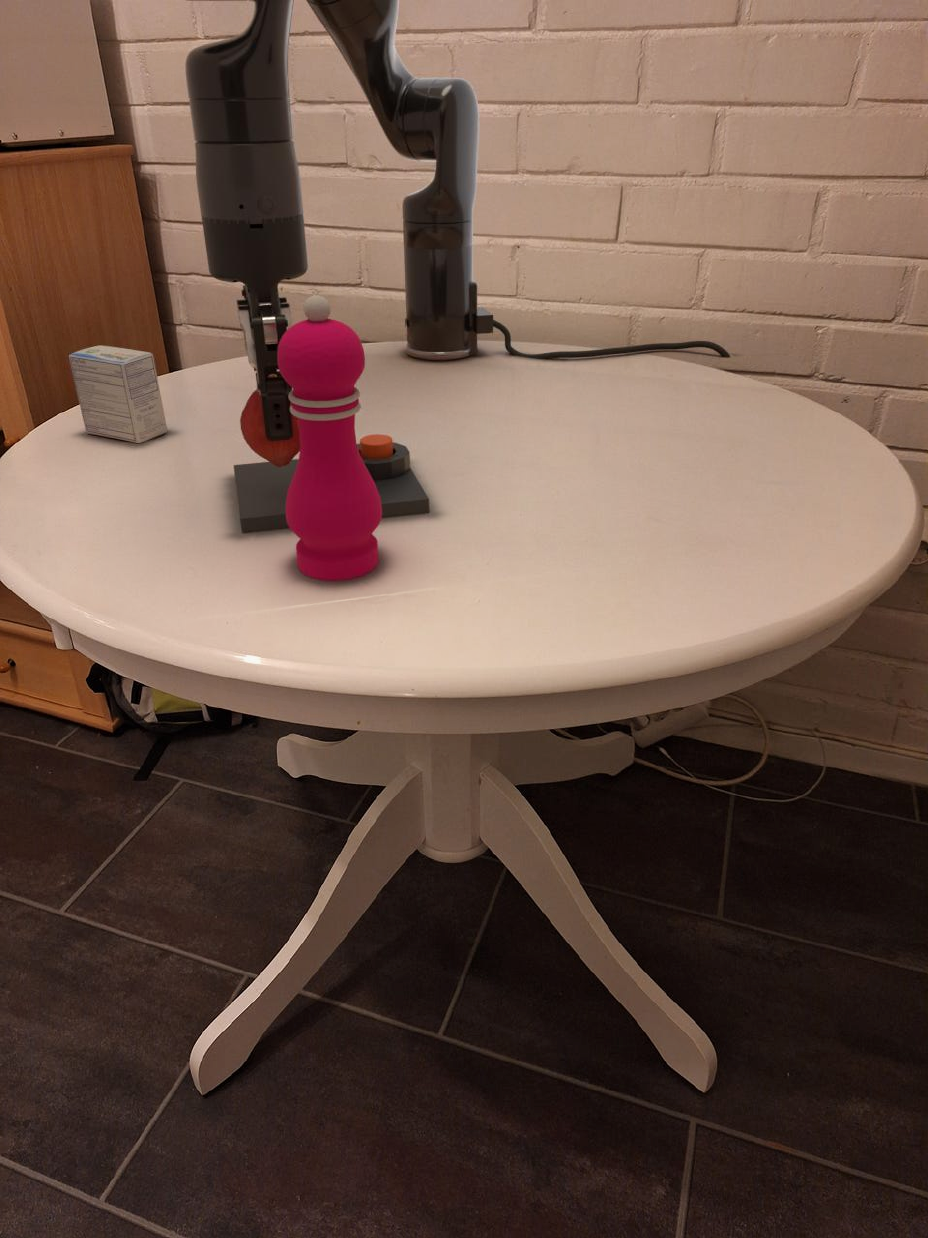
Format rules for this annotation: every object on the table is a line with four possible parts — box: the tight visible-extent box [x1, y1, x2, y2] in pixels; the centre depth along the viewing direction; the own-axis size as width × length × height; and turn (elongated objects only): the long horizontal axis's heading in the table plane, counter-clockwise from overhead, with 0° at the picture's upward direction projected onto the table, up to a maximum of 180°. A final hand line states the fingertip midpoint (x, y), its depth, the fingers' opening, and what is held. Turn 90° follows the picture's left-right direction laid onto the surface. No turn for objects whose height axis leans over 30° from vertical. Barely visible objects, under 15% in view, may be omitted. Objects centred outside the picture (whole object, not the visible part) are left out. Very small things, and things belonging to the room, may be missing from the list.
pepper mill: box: [277, 294, 383, 582], centre depth 66 cm, size 7×7×20 cm
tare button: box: [359, 433, 394, 459], centre depth 84 cm, size 3×3×2 cm
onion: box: [239, 374, 300, 467], centre depth 76 cm, size 6×6×8 cm
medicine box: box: [68, 344, 168, 444], centre depth 96 cm, size 8×4×9 cm, turn 62°
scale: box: [233, 441, 430, 534], centre depth 82 cm, size 16×13×3 cm
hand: (276, 425), depth 76 cm, fingers closed on onion, 6 cm apart
